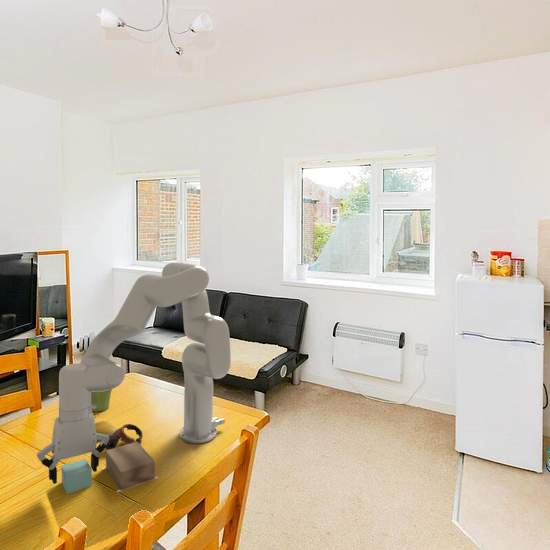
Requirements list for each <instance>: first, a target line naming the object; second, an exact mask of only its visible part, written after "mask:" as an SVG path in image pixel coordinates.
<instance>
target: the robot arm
mask: <svg viewBox="0 0 550 550" xmlns="http://www.w3.org/2000/svg"><path fill="white" fill-rule="evenodd" d="M209 282H210V275H209V273H208V271H207V269H205V268H204V267H203V266H201V265H197V264H189V263H183V262H169V263H167V264H165V266H163V268H162V270H161V275H154V274H144V275H141V276H139V277H138V278H137V279H136V281H135V282H134V284H133V285H132V287H131V289H130V291H129V293H128V294H127V296H126V298H125V301H123V304H122V305H121V308H120V309H119V310H118V313H117V315H116V316H115V318H114V319H113V320H112V321H111V322H109V324H107V325H106V326H105V327H104V328H103V329H102V330H101V331H100V332H98V333H97V334H96V335H95V337H94V338H93V340H91V342H90V343H89V345H88V347H87V349H86V351H85V353H84V355H83V356H82V358H81V360H80V363H77V362H76V363H70V364H67V365H63V367H62V368H60V370H59V374H58V384H59V385H58V417H56V418H55V419H54V424H53V430H52V438H51V443H50V444H48V445H47V446H45V447H44V448H42V449H41V450H39V451H37V452H36V458H38V460H39V461H40V462H41V464H42V465H43V466H45V467H46V468H48V479H49V481H52V484H53V485H55V484H57V483H58V469H57V465H58V464H59V462H60V461H62V460H67V459H71V458H76V457H79V456H83V455H86V454H89V453H90V467H91V469H92V472H93V473H94V472H95V473H96V472H98V470H97V468H98V467H100V466H99V465H100V460H99V459H100V456H101V454H102V453H103V451H104V450H106V444H107V443H108V441H109V439H110V438H109V436H108V435H104V434H100V433H96V427H95V423H96V421H95V416H94V413H93V411H92V410H94V409H97V405H96V404H91V392H92V391H103V390H110V389H112V390H114V389H116V388H117V387H119V386H120V385H121V384H122V383H123V381H124V379H125V375H126V373H125V369H124V368H123V366H122V365H120V364H119V363H118V362H116V361H113V360H111V359H110V357H111V356H112V354H113V353H114V351H115V349H116V348H117V347H118V346H119V345H120V344H122V343H123V342H124V341H126V340H128V339H130V338H133V337H136V336H138V335H141V334H142V333H144V331H145V330H146V327H147V325H148V323H149V321H150V319H151V318H152V316H153V313H154V312H155V310H156V308H157V307H161V308H167V307H172V306H175V305H178V304H179V303H181V306H182V316H183V317H182V319H183V331H184V334H185V336H186V337H187V338H188V339H189V340H191V341H194V342H192V343H190V344H188V345H187V346H186V347H184V350H183V352H182V355H181V364H182V370H183V376H184V391H183V392H184V398H183V401H184V402H183V427H181V429H180V430H179V431H178V436H179V439H180V440H182V441H183V442H186V443H190V444H202V443H203V444H204V443H207V442H211V441H212V440H213V439H215V438H216V436H217V433H218V432H217V427H218V426H221V425H225V422H226V420H225V418H224V417H222V418H219V419H218V417H217V416H216V417H213V415H214V414H213V412H214V411H213V408H214V406H213V405H214V380H218V379H222V378H224V377H225V376H226V375H228V372H229V370H230V367H231V359H232V358H231V340H230V339H231V337H230V328H229V326H228V323H227V322H226V320H225V319H223V318H222V317H220V316H217V315H214V314H211V311H210V303H209V298H208V297H209V296H208V292H207V290H206V288H207V287H208V285H209ZM213 379H214V380H213ZM214 437H215V438H214ZM97 439H98V440H99V441H101V442H100V443H99V444H98V445H97V442H98V441H97ZM50 453H51V454H52V456H51V457H50V458H47V457H46V455H48V454H50Z"/></svg>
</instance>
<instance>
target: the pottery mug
mask: <svg viewBox="0 0 550 550" xmlns="http://www.w3.org/2000/svg"><path fill="white" fill-rule="evenodd" d="M125 429H126V430H127V431H129V430H130V431H134V432H135V434H136V435H137V436H138V437H137V438H133V437H131V436H129V435H127V434H126V432H125ZM109 438H110V439H109V441H108V443H107V444H106V448H105V450H110V449H113V448H117V447H116V446H117V445H118V444H119V441H121V442H123V443H125V444H126V445H127V444H130V443H134V442H138V443H139V444H140V445H141V444H142V439H143V431H142V430H141V428H140V427H139V426H137V425H135V424H132V423H128V424H127V423H126V424H123V425H122V427H119V428H116V431H115V432H114V433H113V435H110V436H109ZM135 439H136V440H135Z"/></svg>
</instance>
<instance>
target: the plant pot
mask: <svg viewBox="0 0 550 550" xmlns="http://www.w3.org/2000/svg"><path fill="white" fill-rule="evenodd" d="M112 391H113V389H110V390H103V391H92V392H91V404H96V405H97V409H94V410H92V412H94V413H95V412H96V413H99V412H101V411H102V412H105V411H107V410H108V409H109V407H110V402H111V395H112Z"/></svg>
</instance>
